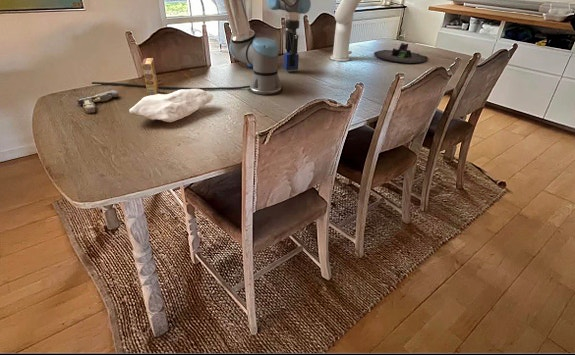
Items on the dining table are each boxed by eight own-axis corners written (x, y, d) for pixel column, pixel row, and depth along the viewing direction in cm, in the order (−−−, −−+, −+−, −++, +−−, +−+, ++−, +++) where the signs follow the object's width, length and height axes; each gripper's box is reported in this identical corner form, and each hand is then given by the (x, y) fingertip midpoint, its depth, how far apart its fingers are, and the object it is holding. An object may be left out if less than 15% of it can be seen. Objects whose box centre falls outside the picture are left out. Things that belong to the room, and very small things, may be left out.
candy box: (157, 97, 164) (152, 63, 155) (147, 98, 163) (141, 63, 155) (158, 91, 171) (153, 57, 163) (149, 91, 170) (143, 58, 162)
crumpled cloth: (117, 110, 146) (113, 90, 140) (195, 92, 166) (194, 73, 160) (143, 139, 134) (140, 118, 128) (223, 116, 154) (224, 96, 148)
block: (298, 69, 203) (298, 54, 199) (286, 70, 201) (286, 55, 197) (294, 67, 207) (295, 52, 203) (283, 68, 205) (283, 52, 201)
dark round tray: (438, 59, 239) (441, 44, 234) (403, 65, 221) (405, 50, 217) (397, 50, 264) (399, 37, 259) (362, 56, 246) (363, 42, 242)
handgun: (128, 97, 156) (111, 87, 164) (86, 107, 144) (70, 97, 152) (129, 103, 157) (113, 94, 165) (88, 114, 146) (72, 103, 154)
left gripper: (305, 22, 185) (302, 68, 197) (293, 16, 199) (291, 60, 211) (291, 23, 182) (289, 69, 195) (280, 17, 196) (279, 60, 209)
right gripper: (301, -31, 209) (299, 2, 218) (290, -33, 222) (289, -2, 231) (288, -31, 206) (287, 2, 216) (279, -33, 220) (278, -2, 229)
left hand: (290, 64), depth 203 cm, fingers closed on block, 5 cm apart
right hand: (288, 0), depth 223 cm, fingers open, 9 cm apart
